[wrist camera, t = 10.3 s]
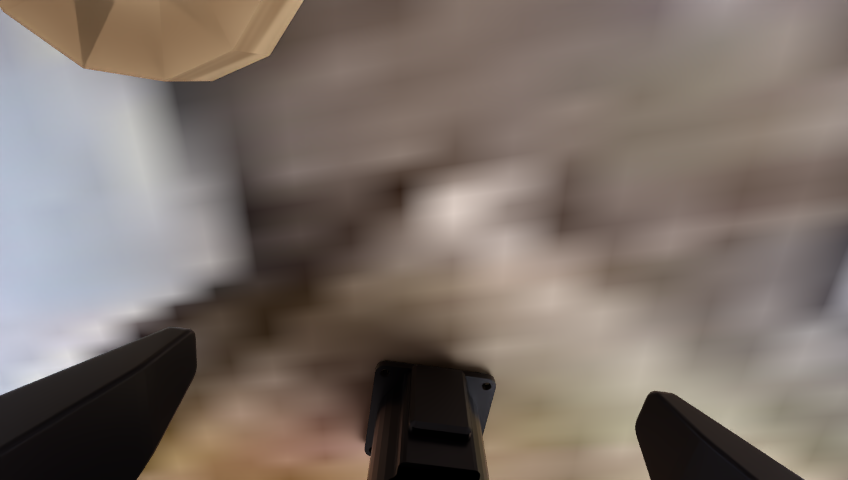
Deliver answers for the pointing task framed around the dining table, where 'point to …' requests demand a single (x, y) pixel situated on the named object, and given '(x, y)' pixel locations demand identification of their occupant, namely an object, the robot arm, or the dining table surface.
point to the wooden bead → (158, 33)
